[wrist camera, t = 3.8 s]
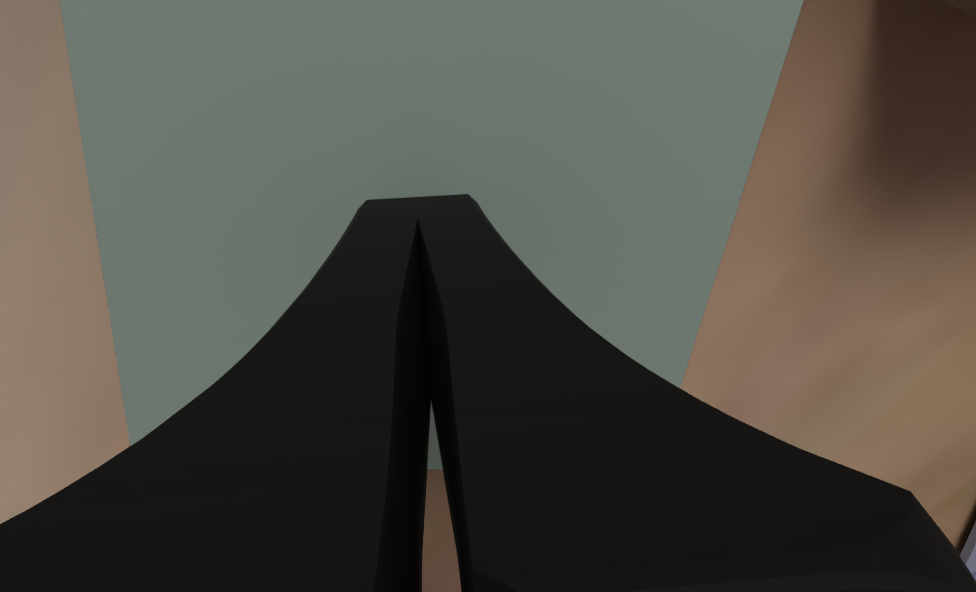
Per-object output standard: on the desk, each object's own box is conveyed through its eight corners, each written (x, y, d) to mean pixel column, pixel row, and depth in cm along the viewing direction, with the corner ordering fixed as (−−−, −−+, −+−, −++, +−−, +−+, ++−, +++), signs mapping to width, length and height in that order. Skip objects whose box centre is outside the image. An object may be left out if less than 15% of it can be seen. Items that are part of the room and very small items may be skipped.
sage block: (592, 298, 18) (652, 473, 14) (197, 279, 17) (133, 464, 12) (687, -119, 13) (817, -46, 9) (158, -183, 12) (38, -134, 8)
